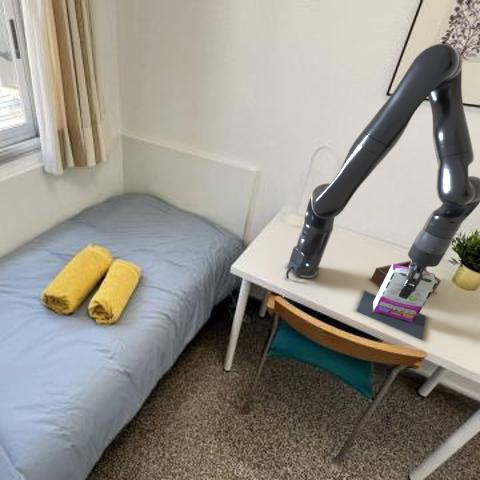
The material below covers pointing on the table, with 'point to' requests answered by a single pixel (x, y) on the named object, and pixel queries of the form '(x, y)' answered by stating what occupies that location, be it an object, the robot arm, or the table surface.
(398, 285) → the candy bar box
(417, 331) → the desk mat
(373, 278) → the desk box
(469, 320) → the table surface
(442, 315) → the table surface
